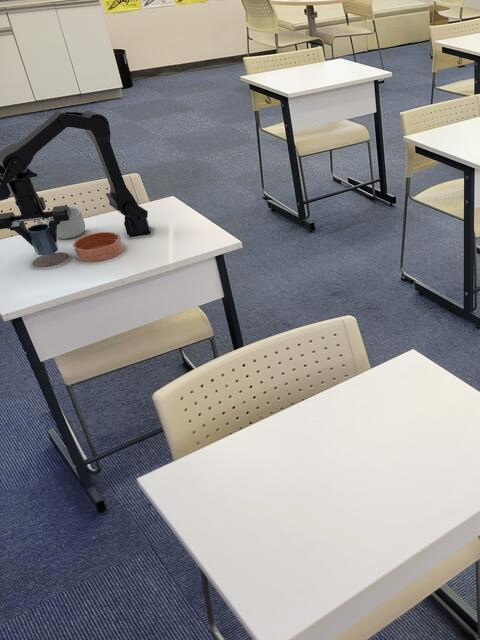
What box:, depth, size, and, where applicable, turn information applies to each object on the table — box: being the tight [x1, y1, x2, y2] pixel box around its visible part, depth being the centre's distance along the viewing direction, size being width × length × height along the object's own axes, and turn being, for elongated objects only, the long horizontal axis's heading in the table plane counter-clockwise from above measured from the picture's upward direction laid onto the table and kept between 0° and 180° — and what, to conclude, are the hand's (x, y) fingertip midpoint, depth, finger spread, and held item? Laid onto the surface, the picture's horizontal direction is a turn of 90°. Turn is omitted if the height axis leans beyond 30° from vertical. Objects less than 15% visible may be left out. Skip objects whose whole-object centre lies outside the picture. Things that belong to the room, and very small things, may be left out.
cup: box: [27, 223, 59, 256], centre depth 209 cm, size 6×6×8 cm
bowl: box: [72, 231, 125, 263], centre depth 216 cm, size 13×13×4 cm
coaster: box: [32, 251, 70, 268], centre depth 213 cm, size 10×10×1 cm
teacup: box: [35, 206, 86, 240], centre depth 226 cm, size 14×11×8 cm
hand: (44, 243), depth 210 cm, fingers closed on cup, 6 cm apart
